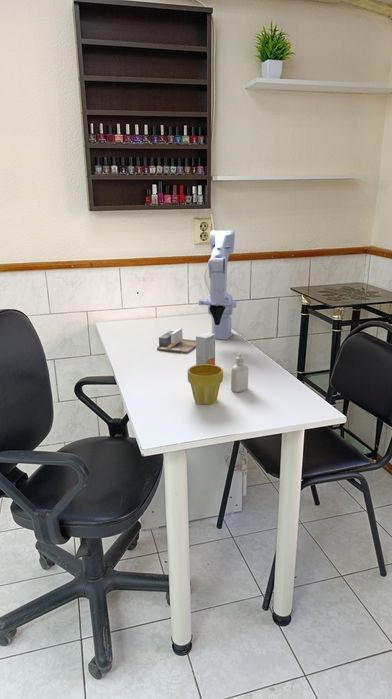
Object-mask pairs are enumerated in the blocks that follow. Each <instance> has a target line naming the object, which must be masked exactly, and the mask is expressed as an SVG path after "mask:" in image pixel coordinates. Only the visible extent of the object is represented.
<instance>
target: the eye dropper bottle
mask: <svg viewBox="0 0 392 699" xmlns="http://www.w3.org/2000/svg"><path fill="white" fill-rule="evenodd" d="M230 372H231V374H230V383H231V384H230V390H231V392H233V393H242V392H245V391H246V390H248V388H249V366H248V365H247V364H246V363H245V357H244V356H242V353H241V352H239V353H238V356H236V357H235V364H234V365H233V366H232V367H231V371H230Z"/></svg>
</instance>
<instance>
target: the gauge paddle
mask: <svg viewBox="0 0 392 699" xmlns="http://www.w3.org/2000/svg"><path fill="white" fill-rule="evenodd" d="M173 331H174V332H172V333H171V345H170V346H168V348H170V347H171V346H174V345H176V344H177V343H179V342H180V341H182V340H183V339H184V338H183V328H182V327H179V328H177V329H175V330H173Z"/></svg>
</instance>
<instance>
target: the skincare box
mask: <svg viewBox="0 0 392 699" xmlns="http://www.w3.org/2000/svg"><path fill="white" fill-rule="evenodd" d="M195 340H196V348H195V365H200V364H211V365H216V338H215V334H212V332H204V333H200V334H199V335H196V336H195Z"/></svg>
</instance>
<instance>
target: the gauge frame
mask: <svg viewBox="0 0 392 699" xmlns="http://www.w3.org/2000/svg"><path fill="white" fill-rule="evenodd" d="M174 331H175V330H169V331H168V332H166V333H163V335H161V336H159V337H158V346H157V347H156V351H163V352H169V353H170V352H171V353H179V354H186V355H187V354H190V353H191V352H192V351H193V350H194V349H195V350H196V339H186V338H185V339H184V338H183V340H182V341H180V342H179V343H177V344H176V345H174V346H171V347H170V348H168V346H170V345H171V333H172V332H174Z"/></svg>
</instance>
